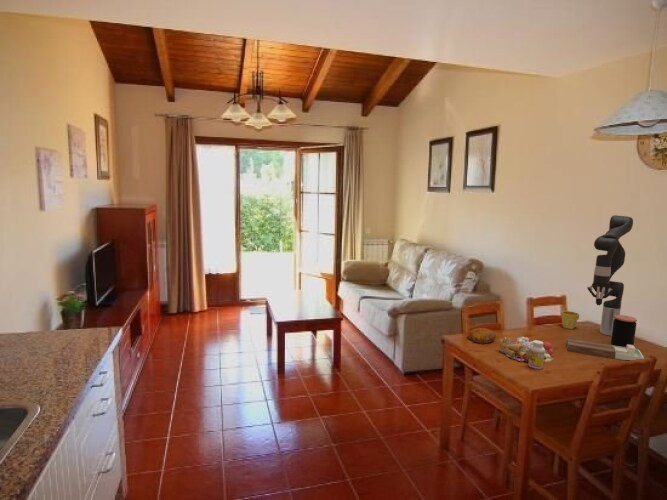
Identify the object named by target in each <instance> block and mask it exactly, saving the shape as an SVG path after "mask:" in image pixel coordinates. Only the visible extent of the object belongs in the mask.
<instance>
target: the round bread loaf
mask: <svg viewBox="0 0 667 500" xmlns="http://www.w3.org/2000/svg"><path fill="white" fill-rule="evenodd" d="M496 337H497V335H496V333H495V332H494V331H493V330H492V329H489V328H486V327H476V328H473V329H470V330H469V332H468V339H469V340H470V341H473V342H474V343H477V344H482V345H484V344H488V343H491V342H494V340H495V339H496Z"/></svg>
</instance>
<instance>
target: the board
mask: <svg viewBox="0 0 667 500" xmlns="http://www.w3.org/2000/svg"><path fill="white" fill-rule="evenodd" d="M566 348H567V352H573V353H577V354H583V355H591V356H595V357H596V356H597V357H601V358H602V357H603V358H608V359H615V354H616V352H615V350H614V348H613V346H612V344H611V343H605V342H600V341H599V342H598V341H593V340H587V339H581V338H574V337H566ZM615 360H616V359H615Z"/></svg>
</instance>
